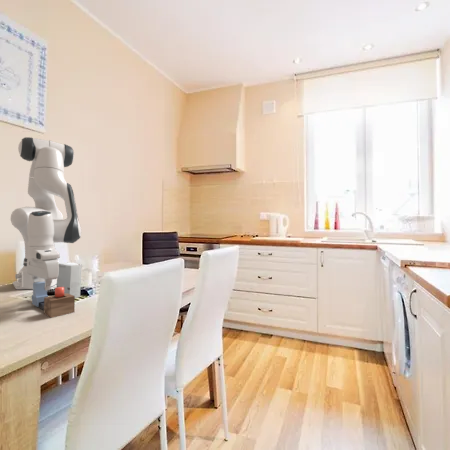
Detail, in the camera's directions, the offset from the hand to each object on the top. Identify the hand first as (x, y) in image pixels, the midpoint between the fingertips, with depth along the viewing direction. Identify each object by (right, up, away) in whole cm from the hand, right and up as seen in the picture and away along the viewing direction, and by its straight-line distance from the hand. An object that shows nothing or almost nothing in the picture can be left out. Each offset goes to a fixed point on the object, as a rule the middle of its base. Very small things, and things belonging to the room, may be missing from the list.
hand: (41, 288), depth 115 cm
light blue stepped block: (-1, -7, 0) cm, 7 cm away
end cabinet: (+11, -8, -7) cm, 15 cm away
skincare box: (+4, -7, +13) cm, 15 cm away
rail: (+2, -7, -2) cm, 8 cm away
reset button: (+11, -1, -7) cm, 13 cm away
